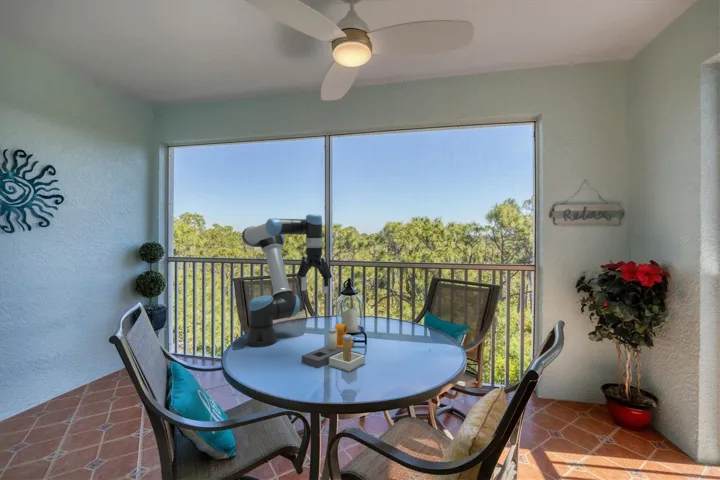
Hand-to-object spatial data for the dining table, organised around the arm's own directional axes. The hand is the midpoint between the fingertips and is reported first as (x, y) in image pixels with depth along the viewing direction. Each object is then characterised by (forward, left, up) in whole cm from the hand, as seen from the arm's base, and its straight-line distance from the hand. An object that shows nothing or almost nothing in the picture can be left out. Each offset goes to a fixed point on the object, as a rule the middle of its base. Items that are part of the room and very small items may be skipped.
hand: (314, 291), depth 164 cm
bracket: (+8, +12, -29) cm, 32 cm away
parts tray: (+22, -3, -29) cm, 37 cm away
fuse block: (+10, -4, -29) cm, 31 cm away
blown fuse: (+22, -3, -28) cm, 36 cm away
